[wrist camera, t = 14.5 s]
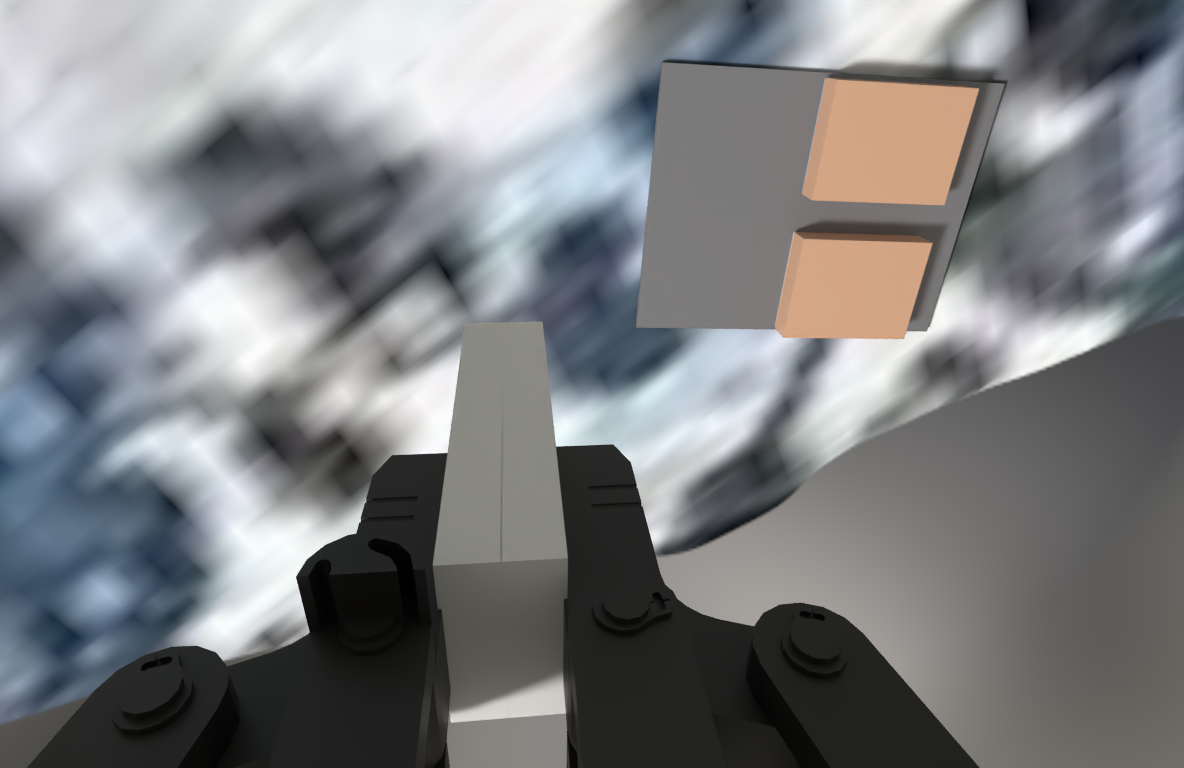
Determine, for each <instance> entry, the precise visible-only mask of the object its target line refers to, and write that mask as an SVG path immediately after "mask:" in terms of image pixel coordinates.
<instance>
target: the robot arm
mask: <svg viewBox="0 0 1184 768" xmlns="http://www.w3.org/2000/svg"><path fill="white" fill-rule="evenodd" d="M296 579H297V583H298V587H299V591H300V595H301V599H302V603H303V607H304V611H305V615H306V619H307V623H308V627H309V631H310V633H309V634H308V635H306V636H304V637H303V638H301V639H299V640H298V641H296V642H294V643H293V644H291V645H288V646H286V647H284V648H281V649H279V650H276V651H274V652H272V653H268V654H265V655H262V656H259V657H256V658H252V659H249V660H246V661H243V662H240V663H237V664H234V665H231V666H228V667H227V666H226V664H225V663H224V662H223V661H222V659H221V658H220V657H219V656H218V654H217V653H216V652H213V651H210V650H207V649H204V648H202V647H199V646H181V647H170V648H167V649H163V650H160V651H157V652H154V653H150V654H147V655H144V656H142V657H140V658H139V659H137V660H135V661H133V662H132V663H130V664H128V665H126V666H124V667H123V668H121V669H119V670H117V671H116V672H115V673H114V674H113V675H112V676H111V677H109V678H108V679H107V680H106V681H105V682H104V683H103V684H102V685H100V686H99V687H98V688H97V689H96V690H95V691H94V692H93V693H92V694H91V695H90V696H89V698H88V699H87V700H86V701H85V702H84V703H83V704H82V706H81V707H80V708H79V709H78V710H77V711H76V712H75V714H74V715H73V716H72V717H71V718H70V719H69V720H68V722H67V723H66V724H65V725H64V726H63V727H62V728H61V730H60V731H59V732H58V733H57V734H56V735H55V736H54V737H53V739H52V740H51V741H50V742H49V743H48V745H47V746H46V747H45V748H44V749H43V750H42V751H41V752H40V753H39V755H38V756H37V757H36V758H35V759H34V760H33V761H32V763H31V764H30V765H29V766H28V767H27V768H449V767H450V765H449V757H448V750H447V741H446V740H447V729H448V717H449V710H450V718H451V722H463V721H475V720H487V719H501V718H513V717H525V716H538V715H550V714H563V713H566V720H567V768H979V767H978V765H977V764H976V763H975V762H974V761H973V760H972V759H971V757H970V756H969V755H968V754H967V753H966V752H965V750H964V749H963V748H962V747H961V746H960V745H959V743H958V742H957V741H956V740H955V739H954V738H953V737H952V735H951V734H950V733H949V732H948V731H947V730H946V729H945V727H943V725H942V724H941V723H940V722H939V720H937V718H936V717H935V716H934V715H933V713H932V712H931V711H930V710H929V709H928V708H927V707H926V705H925V704H924V703H923V702H922V701H921V700H920V699H919V697H918V696H917V695H916V694H915V693H914V692H913V690H912V689H911V688H910V687H909V686H908V685H907V683H906V682H905V681H904V680H903V679H902V678H901V677H900V675H899V674H898V673H897V672H896V671H895V670H894V669H893V667H892V666H891V665H890V664H889V663H888V662H887V660H886V659H885V658H884V657H883V656H882V655H881V654H880V652H879V651H878V650H877V649H876V648H875V647H874V645H873V644H872V643H871V642H870V641H869V640H868V638H866V637H865V635H864V634H863V633H862V632H861V631H860V630H858V629H857V628H856V627H855V626H854V625H853V624H851V623H850V622H849V621H848V620H847V619H846V618H844V617H842V616H840V615H838V614H836V613H834V612H832V611H830V610H828V609H826V608H824V607H820V606H815V605H810V604H805V603H793V604H782V605H778V606H777V607H774V608H772V609H770V610H768V611H767V612H765V613H763V614H762V616H761V617H760V619H759V620H758V622H757V623H756V625H755V626H749V625H744V624H739V623H734V622H729V621H724V620H720V619H716V618H713V617H709V616H706V615H703V614H700V613H698V612H697V611H694V610H693V609H691V608H689V607H687V606H686V605H684V604H683V603H682V602H681V601H679V600H678V599H677V598H676V596H675V594H674V592H673V591H672V590H670V588H668V587H667V586H666V585H665V583H664V581H663V579H662V577H661V574H660V571H659V567H658V563H657V560H656V556H655V552H654V548H653V544H652V541H651V537H650V533H649V529H648V526H647V522H646V518H645V514H644V511H643V507H642V506H641V499H640V496H639V492H638V488H637V487H636V480H635V477H634V473H633V469H632V465H631V462H630V461H629V460H628V459H627V458H626V457H625V456H624V455H623V454H622V453H621V452H620V451H619V450H618V449H617V448H616V447H615V446H614V445H588V446H563V447H556V443H555V434H554V425H553V415H552V406H551V397H550V387H549V378H548V369H547V359H546V350H545V341H544V332H543V322H505V323H465V327H464V334H463V342H462V349H461V357H460V364H459V372H458V379H457V387H456V394H455V402H454V409H453V417H452V424H451V432H450V439H449V447H448V453H439V454H414V455H392V456H391V457H390V458H389V459H388V460H387V461H386V462H385V463H384V464H383V465H382V467H381V468H380V469H379V470H378V471H377V472H376V473H375V474H374V475H373V477H372V481H371V484H370V488H369V491H368V495H367V498H366V503H365V505H364V509H363V512H362V516H361V523H359V526H358V530H357V533H356V534H352V535H347V536H345V537H343V538H341V539H338V540H336V541H334V542H331V543H329V544H327V545H325V546H324V547H322V548H321V549H320V550H319V551H317V552H316V553H315V554H314V555H312V556H311V557H310V558H308V559H307V561H306V562H305V564H304V565H303V567H302V568H301V570H300V572H299V573H298V575H297V576H296Z"/></svg>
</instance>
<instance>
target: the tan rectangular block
mask: <svg viewBox="0 0 1184 768" xmlns="http://www.w3.org/2000/svg"><path fill="white" fill-rule="evenodd" d="M978 91H979V88H973V87H966V86H956V85H940V84H923V83H907V82H891V81H875V80H859V79H842V78H825V81H824V86H823V91H822V96H821V101H820V106H819V111H818V115H817V120H816V125H815V130H814V135H813V140H812V145H811V150H810V155H809V160H808V165H807V170H806V175H805V180H804V185H803V190H802V194H803V195H804V196H806V197H808V198H809V199H811V200H816V201H843V202H869V203H895V204H922V205H944V204H945V201H946V198H947V194H948V191H949V188H950V184H951V181H952V178H953V175H954V171H955V168H956V165H957V161H958V158H959V155H960V151H961V148H962V145H963V141H964V138H965V135H966V131H967V128H968V125H969V121H970V118H971V115H972V111H973V108H974V105H975V101H976V98H977V95H978Z"/></svg>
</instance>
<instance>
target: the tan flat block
mask: <svg viewBox="0 0 1184 768" xmlns="http://www.w3.org/2000/svg"><path fill="white" fill-rule="evenodd" d="M932 244H933V243H932V242H930V241H928V240H926V239H924V238H922V237H921V236H909V235H878V234H847V233H815V232H794V233H793V238H792V243H791V248H790V253H789V258H788V263H787V268H786V273H785V278H784V283H783V288H782V293H781V298H780V303H779V308H778V313H777V318H776V322H775V329H776V330H777V331H778V332H779V333H780V334H781V336H782V337H783V338H866V339H904V337H905V334H906V330H907V327H908V324H909V320H910V317H911V314H912V310H913V307H914V304H915V300H916V297H917V294H918V290H919V287H920V284H921V280H922V277H923V274H924V270H925V267H926V264H927V260H928V257H929V254H930V250H931V247H932Z"/></svg>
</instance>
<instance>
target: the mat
mask: <svg viewBox="0 0 1184 768" xmlns="http://www.w3.org/2000/svg"><path fill="white" fill-rule="evenodd" d="M825 78H842V79H859V80H875V81H891V82H907V83H923V84H940V85H956V86H966V87H973V88H979V91H978V95H977V98H976V101H975V105H974V108H973V111H972V115H971V118H970V121H969V125H968V128H967V131H966V135H965V138H964V141H963V145H962V148H961V151H960V155H959V158H958V161H957V165H956V168H955V171H954V175H953V178H952V181H951V184H950V188H949V191H948V194H947V198H946V201H945V204H944V205H922V204H895V203H869V202H843V201H816V200H811V199H809V198H808V197H806V196H804V195H803V194H802V190H803V185H804V180H805V175H806V170H807V165H808V160H809V155H810V150H811V145H812V140H813V135H814V130H815V125H816V120H817V115H818V111H819V106H820V101H821V96H822V91H823V86H824V81H825ZM1004 85H1005V84H1002V83H988V82H972V81H956V80H940V79H924V78H908V77H892V76H876V75H860V74H844V73H828V72H812V71H796V70H780V69H764V68H748V67H732V66H716V65H701V64H685V63H669V62H662V65H661V75H660V86H659V96H658V106H657V116H656V126H655V136H654V146H653V156H652V166H651V177H650V187H649V197H648V207H647V217H646V227H645V237H644V247H643V257H642V268H641V278H640V288H639V298H638V308H637V318H636V327H637V328H712V329H775V322H776V318H777V313H778V308H779V303H780V298H781V293H782V288H783V283H784V278H785V273H786V268H787V263H788V258H789V253H790V248H791V243H792V238H793V233H794V232H815V233H847V234H878V235H909V236H921V237H922V238H924V239H926V240H928V241H930V242H932V243H933V244H932V247H931V250H930V254H929V257H928V260H927V264H926V267H925V270H924V274H923V277H922V280H921V284H920V287H919V290H918V294H917V297H916V300H915V304H914V307H913V310H912V314H911V317H910V320H909V324H908V327H907V330H906V331H927V329H928V326H929V323H930V320H931V316H932V313H933V310H934V307H935V304H936V301H937V297H938V294H939V291H940V288H941V285H942V282H943V278H944V275H945V272H946V269H947V266H948V263H949V259H950V256H951V253H952V250H953V247H954V243H955V240H956V237H957V234H958V231H959V228H960V224H961V221H962V218H963V215H964V212H965V209H966V205H967V202H968V199H969V196H970V193H971V190H972V186H973V183H974V180H975V177H976V174H977V171H978V167H979V164H980V161H981V158H982V155H983V152H984V148H985V145H986V142H987V139H988V136H989V133H990V129H991V126H992V123H993V120H994V117H995V114H996V110H997V107H998V104H999V101H1000V98H1001V94H1002V91H1003V88H1004Z"/></svg>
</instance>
